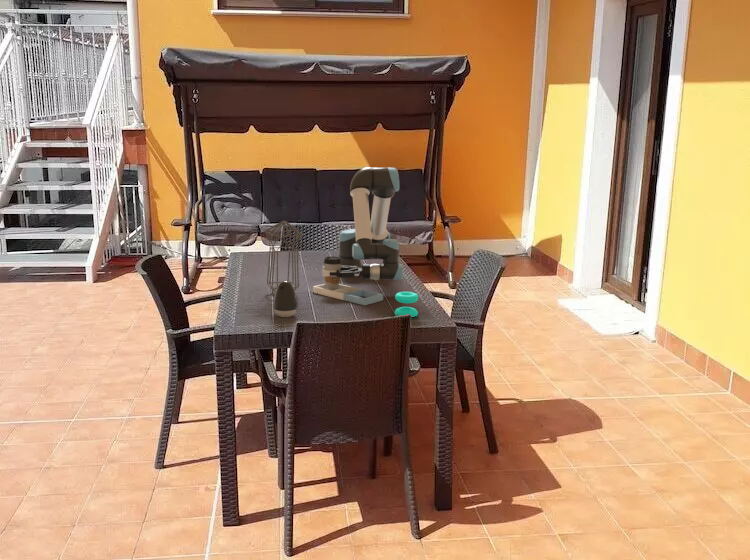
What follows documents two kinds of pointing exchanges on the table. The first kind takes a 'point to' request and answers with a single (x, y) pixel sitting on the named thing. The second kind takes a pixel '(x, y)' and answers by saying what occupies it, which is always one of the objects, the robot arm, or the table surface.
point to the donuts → (406, 298)
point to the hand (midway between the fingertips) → (322, 271)
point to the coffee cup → (335, 265)
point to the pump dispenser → (285, 300)
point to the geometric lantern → (277, 226)
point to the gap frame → (349, 294)
